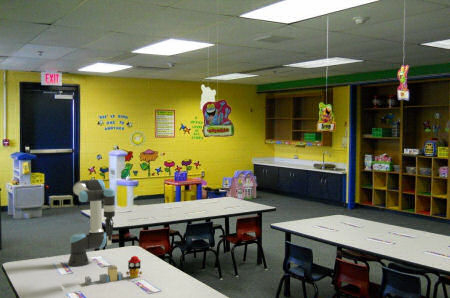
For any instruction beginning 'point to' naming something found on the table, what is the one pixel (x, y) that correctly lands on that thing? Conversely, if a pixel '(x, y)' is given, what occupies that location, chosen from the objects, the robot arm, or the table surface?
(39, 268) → the table surface
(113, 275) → the tan yellow block
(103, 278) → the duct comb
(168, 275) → the table surface
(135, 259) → the toy
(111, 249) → the table surface
